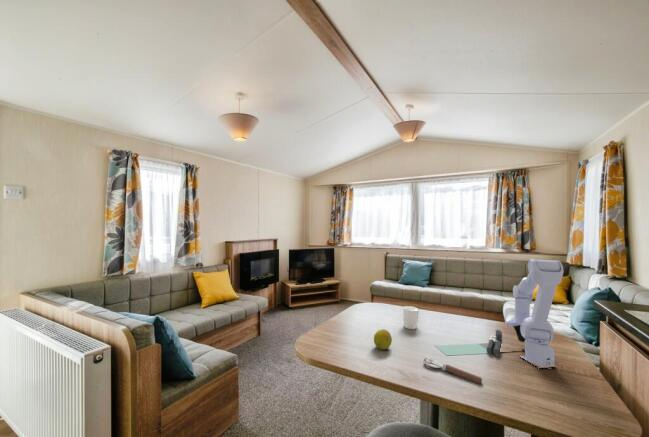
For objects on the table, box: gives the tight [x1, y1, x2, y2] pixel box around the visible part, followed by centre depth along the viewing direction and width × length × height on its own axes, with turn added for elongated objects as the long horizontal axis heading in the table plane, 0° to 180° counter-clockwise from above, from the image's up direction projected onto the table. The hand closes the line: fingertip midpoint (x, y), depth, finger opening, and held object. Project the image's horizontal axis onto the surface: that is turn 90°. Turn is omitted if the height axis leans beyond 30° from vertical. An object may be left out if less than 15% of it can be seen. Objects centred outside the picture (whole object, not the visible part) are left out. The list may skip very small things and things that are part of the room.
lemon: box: [373, 328, 393, 351], centre depth 122 cm, size 11×8×8 cm
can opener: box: [487, 329, 503, 357], centre depth 125 cm, size 19×5×6 cm, turn 143°
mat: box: [435, 342, 500, 357], centre depth 124 cm, size 9×39×1 cm, turn 99°
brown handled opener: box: [422, 355, 483, 385], centre depth 103 cm, size 20×6×3 cm, turn 50°
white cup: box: [402, 305, 419, 330], centre depth 148 cm, size 8×8×10 cm
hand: (521, 341), depth 127 cm, fingers closed
